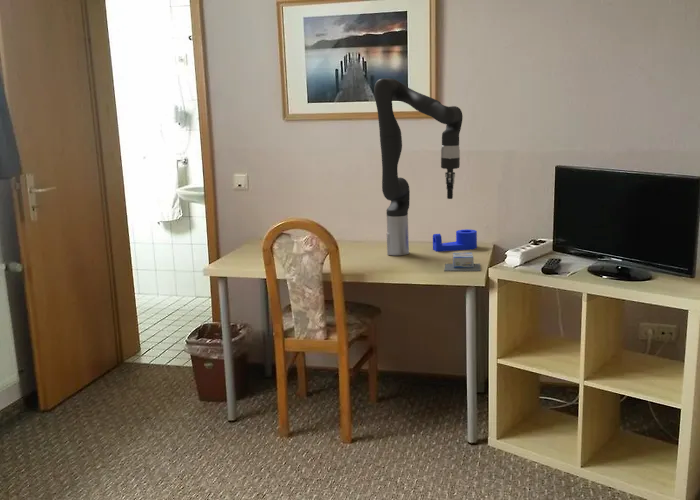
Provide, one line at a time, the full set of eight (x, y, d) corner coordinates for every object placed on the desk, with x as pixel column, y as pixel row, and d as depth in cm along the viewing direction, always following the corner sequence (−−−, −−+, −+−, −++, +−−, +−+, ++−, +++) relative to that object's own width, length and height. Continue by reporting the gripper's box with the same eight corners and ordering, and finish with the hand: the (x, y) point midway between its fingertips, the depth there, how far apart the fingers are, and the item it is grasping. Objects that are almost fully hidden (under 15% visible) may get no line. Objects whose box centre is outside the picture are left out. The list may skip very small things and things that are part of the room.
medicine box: (472, 252, 289) (473, 256, 280) (472, 263, 290) (473, 267, 281) (452, 252, 290) (453, 257, 281) (452, 263, 291) (453, 268, 282)
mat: (444, 271, 280) (444, 270, 280) (445, 264, 290) (445, 263, 290) (480, 271, 278) (480, 270, 277) (480, 264, 288) (480, 263, 288)
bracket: (472, 245, 326) (472, 228, 325) (480, 249, 317) (479, 232, 316) (431, 249, 322) (430, 232, 321) (438, 253, 314) (437, 235, 312)
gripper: (441, 154, 298) (441, 196, 302) (440, 158, 285) (439, 201, 289) (460, 154, 296) (459, 196, 300) (459, 158, 284) (458, 201, 288)
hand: (449, 198), depth 295 cm, fingers closed
